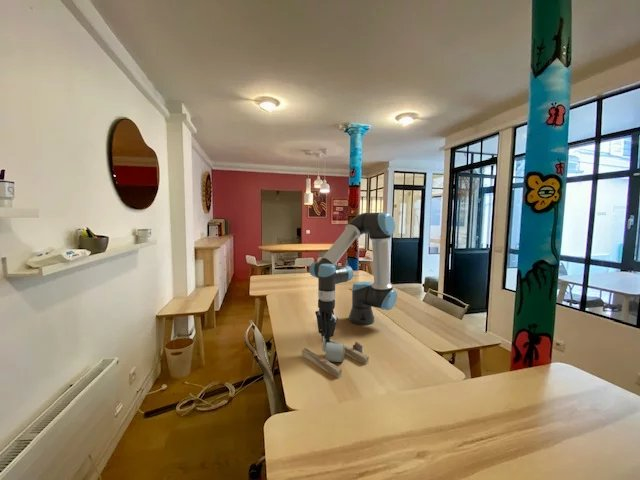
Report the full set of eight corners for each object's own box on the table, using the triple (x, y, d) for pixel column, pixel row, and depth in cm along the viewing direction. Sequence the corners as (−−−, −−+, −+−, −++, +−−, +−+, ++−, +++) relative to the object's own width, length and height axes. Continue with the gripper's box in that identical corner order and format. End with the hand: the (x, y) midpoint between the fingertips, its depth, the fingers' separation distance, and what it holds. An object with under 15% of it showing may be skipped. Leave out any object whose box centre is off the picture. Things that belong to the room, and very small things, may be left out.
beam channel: (337, 342, 141) (337, 331, 140) (374, 360, 123) (374, 348, 123) (301, 355, 127) (302, 344, 126) (337, 378, 109) (338, 365, 109)
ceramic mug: (344, 365, 119) (344, 347, 118) (325, 364, 119) (325, 347, 118) (343, 353, 129) (343, 337, 129) (325, 353, 129) (325, 336, 129)
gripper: (310, 297, 128) (310, 347, 130) (330, 304, 118) (329, 358, 120) (323, 294, 133) (322, 343, 135) (342, 300, 123) (341, 353, 125)
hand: (325, 350), depth 128 cm, fingers closed
